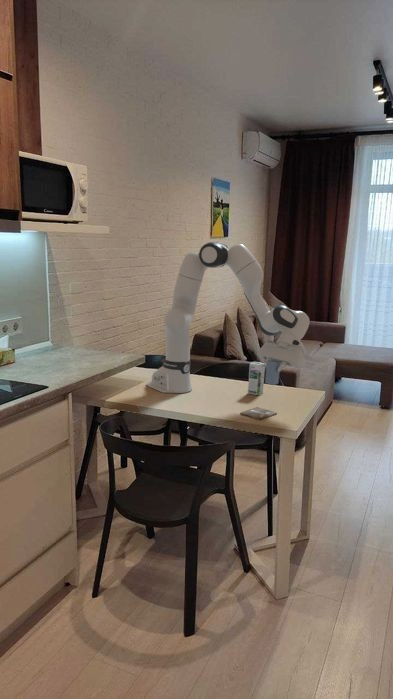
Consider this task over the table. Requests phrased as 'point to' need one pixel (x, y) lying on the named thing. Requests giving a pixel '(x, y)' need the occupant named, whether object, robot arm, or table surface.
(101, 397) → the table surface
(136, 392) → the table surface
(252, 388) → the syrup box
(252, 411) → the letter card
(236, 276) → the robot arm
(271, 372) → the slate block
